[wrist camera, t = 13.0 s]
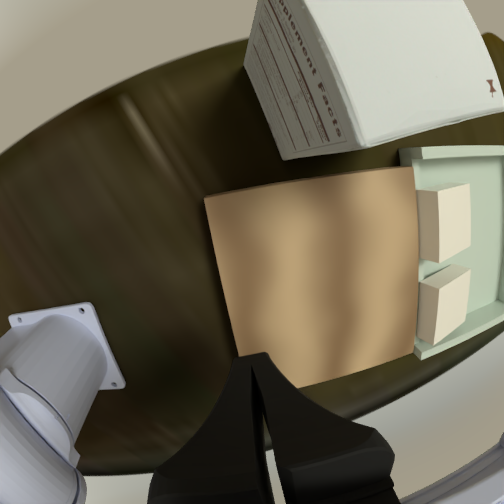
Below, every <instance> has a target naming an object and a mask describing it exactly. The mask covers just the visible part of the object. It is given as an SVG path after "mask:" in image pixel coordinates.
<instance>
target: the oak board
mask: <svg viewBox="0 0 504 504" xmlns="http://www.w3.org/2000/svg"><path fill="white" fill-rule="evenodd" d="M204 202H205V207H206V212H207V216H208V221H209V226H210V231H211V236H212V240H213V245H214V250H215V254H216V259H217V264H218V268H219V273H220V277H221V282H222V286H223V290H224V295H225V299H226V304H227V308H228V312H229V316H230V321H231V325H232V329H233V333H234V337H235V341H236V346H237V350H238V354H239V357H240V356H245V355H251V354H256V353H261V352H267V353H268V354H269V356H270V358H271V360H272V361H273V363H274V364H275V365H276V367H277V368H278V369H279V370H280V371H281V373H282V374H283V375H284V376H285V377H286V378H287V379H288V380H289V381H290V382H291V383H292V384H293V385H294V386H295V387H296V388H300V387H304V386H308V385H312V384H316V383H320V382H324V381H327V380H331V379H334V378H338V377H341V376H345V375H348V374H351V373H355V372H358V371H361V370H364V369H367V368H370V367H373V366H376V365H379V364H382V363H385V362H388V361H391V360H394V359H396V358H399V357H402V356H405V355H407V354H410V353H413V351H414V342H415V332H416V320H417V305H418V279H419V240H418V215H417V200H416V188H415V177H414V168H413V167H412V166H394V167H385V168H376V169H368V170H359V171H351V172H344V173H336V174H329V175H322V176H315V177H309V178H302V179H296V180H290V181H283V182H277V183H272V184H266V185H260V186H255V187H249V188H244V189H238V190H233V191H228V192H223V193H218V194H213V195H208V196H205V198H204Z"/></svg>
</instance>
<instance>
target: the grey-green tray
mask: <svg viewBox="0 0 504 504" xmlns="http://www.w3.org/2000/svg"><path fill="white" fill-rule="evenodd" d="M398 150H399V157H400V165H401V166H412V167H413V168H414V177H415V188H416V189H420V188H424V187H429V186H434V185H438V184H443V183H448V182H457V183H470V202H471V246H469V247H468V248H466V249H464V250H462V251H461V252H459V253H457V254H455V255H454V256H452V257H450V258H448V259H446V260H445V261H443V262H441V263H436V262H432V261H429V260H425V259H422V258H419V279H418V305H417V320H416V332H415V342H414V351H413V353H414V354H415V355H416V356H417V357H418V358H419V359H420V360H422V359H425V358H427V357H430V356H432V355H434V354H437V353H439V352H441V351H443V350H446V349H448V348H450V347H452V346H454V345H456V344H459V343H461V342H463V341H465V340H467V339H469V338H471V337H473V336H475V335H477V334H479V333H481V332H483V331H485V330H487V329H488V328H490V327H492V326H494V325H496V324H498V323H499V322H501V321H503V320H504V146H488V145H477V146H435V147H415V148H400V149H398ZM451 264H456V265H460V266H463V267H466V268H470V269H471V275H470V286H469V296H468V304H467V312H466V318H465V322H463V323H462V324H461V325H460V326H458V327H457V328H456V329H455V330H453V331H452V332H451V333H450V334H448V335H447V336H446V337H444V338H443V339H442V340H440V341H439V342H438V343H436V344H435V345H434V346H433V345H431V344H429V343H427V342H425V341H424V340H422V339H420V338H418V337H416V334H417V323H418V309H419V289H420V282H421V281H422V280H424V279H426V278H428V277H430V276H432V275H434V274H435V273H437V272H439V271H441V270H443V269H444V268H446V267H448V266H450V265H451Z"/></svg>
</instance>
